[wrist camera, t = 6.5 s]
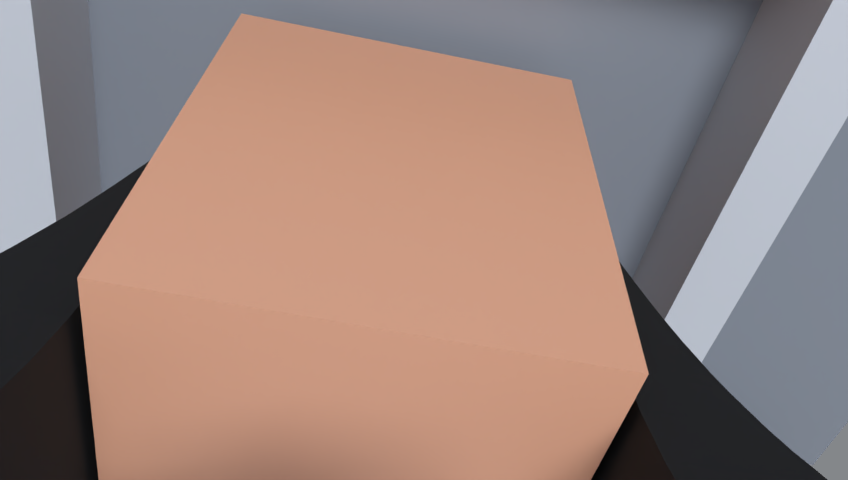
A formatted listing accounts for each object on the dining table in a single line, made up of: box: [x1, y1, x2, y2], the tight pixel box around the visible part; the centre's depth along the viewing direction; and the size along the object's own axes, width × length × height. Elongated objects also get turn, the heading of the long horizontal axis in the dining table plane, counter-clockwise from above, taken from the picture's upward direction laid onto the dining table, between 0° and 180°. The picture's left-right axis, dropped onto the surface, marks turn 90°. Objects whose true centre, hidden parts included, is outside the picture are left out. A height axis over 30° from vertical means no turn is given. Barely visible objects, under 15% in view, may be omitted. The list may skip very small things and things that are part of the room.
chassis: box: [0, 0, 848, 465], centre depth 12 cm, size 22×15×4 cm
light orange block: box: [77, 13, 649, 480], centre depth 10 cm, size 5×5×6 cm
